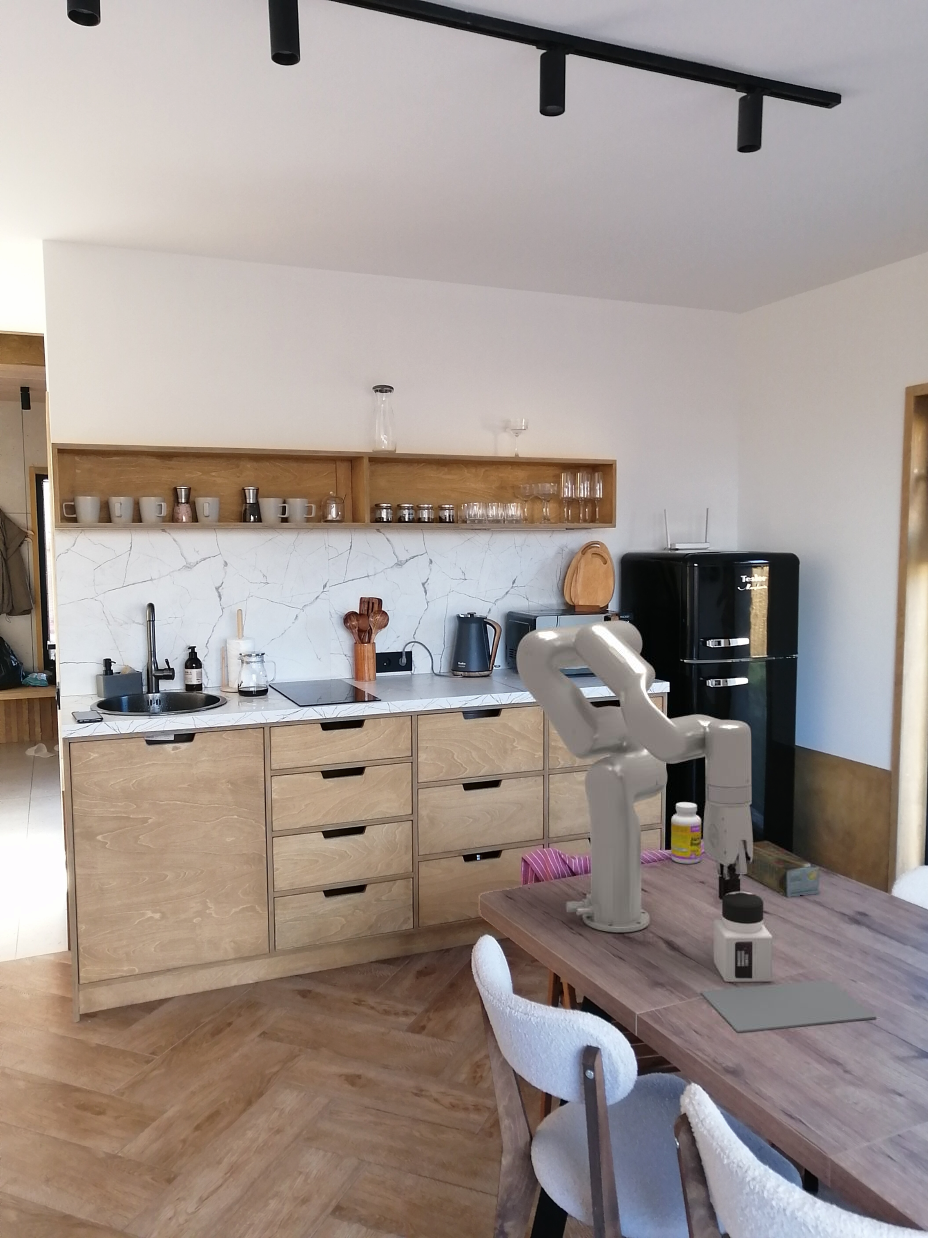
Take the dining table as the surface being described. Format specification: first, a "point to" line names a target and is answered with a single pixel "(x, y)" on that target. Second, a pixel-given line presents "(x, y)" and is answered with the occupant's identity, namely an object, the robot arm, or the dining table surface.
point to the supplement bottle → (686, 834)
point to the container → (742, 940)
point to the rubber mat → (785, 1005)
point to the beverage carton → (782, 870)
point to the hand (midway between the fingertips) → (729, 899)
